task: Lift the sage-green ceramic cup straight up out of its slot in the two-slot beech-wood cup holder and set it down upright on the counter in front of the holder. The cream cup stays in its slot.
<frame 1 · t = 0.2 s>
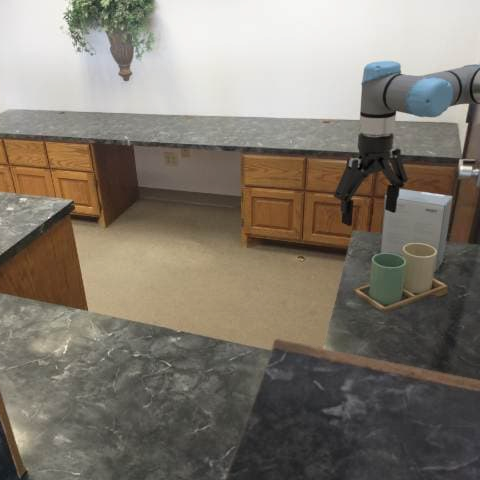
hand: (368, 217, 126), 21 cm above the counter, tool pointing down, fingers open, 13 cm apart
hard drive box: (410, 261, 146), on the counter
green cup: (384, 301, 130), resting in cup holder
cup holder: (399, 295, 131), on the counter
cream cup: (413, 290, 133), resting in cup holder
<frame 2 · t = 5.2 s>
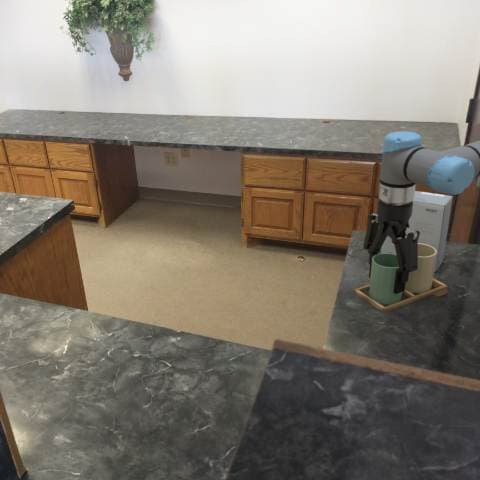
hand: (386, 284, 127), 5 cm above the counter, tool pointing down, fingers closed on green cup, 8 cm apart
green cup: (384, 301, 130), resting in cup holder, touching gripper
everything else where it was.
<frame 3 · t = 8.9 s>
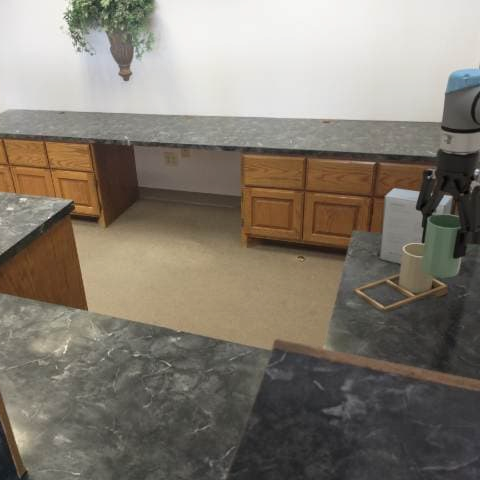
hand: (442, 248, 113), 19 cm above the counter, tool pointing down, fingers closed on green cup, 8 cm apart
green cup: (439, 269, 115), point 14 cm above the counter, touching gripper
everything else where it was.
when the fingers open (5 cm above the counter, at t = 12.4 s): green cup stays where it is, on the counter.
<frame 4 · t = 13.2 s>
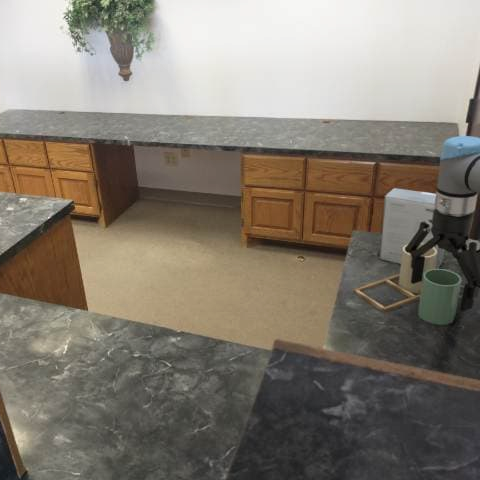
hand: (439, 294, 117), 7 cm above the counter, tool pointing down, fingers open, 13 cm apart
green cup: (434, 320, 121), on the counter
everything else where it was.
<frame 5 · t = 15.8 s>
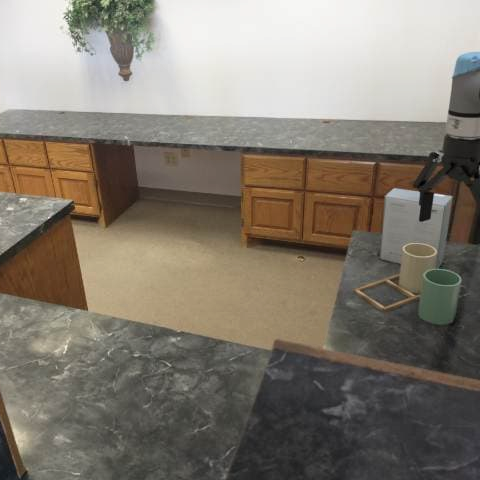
hand: (450, 231, 110), 24 cm above the counter, tool pointing down, fingers open, 13 cm apart
nothing on the counter moved.
at the end: green cup inside the target area (0.1 cm from its centre), on the counter; green cup tilted 0°; cream cup moved 0.0 cm from its start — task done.
